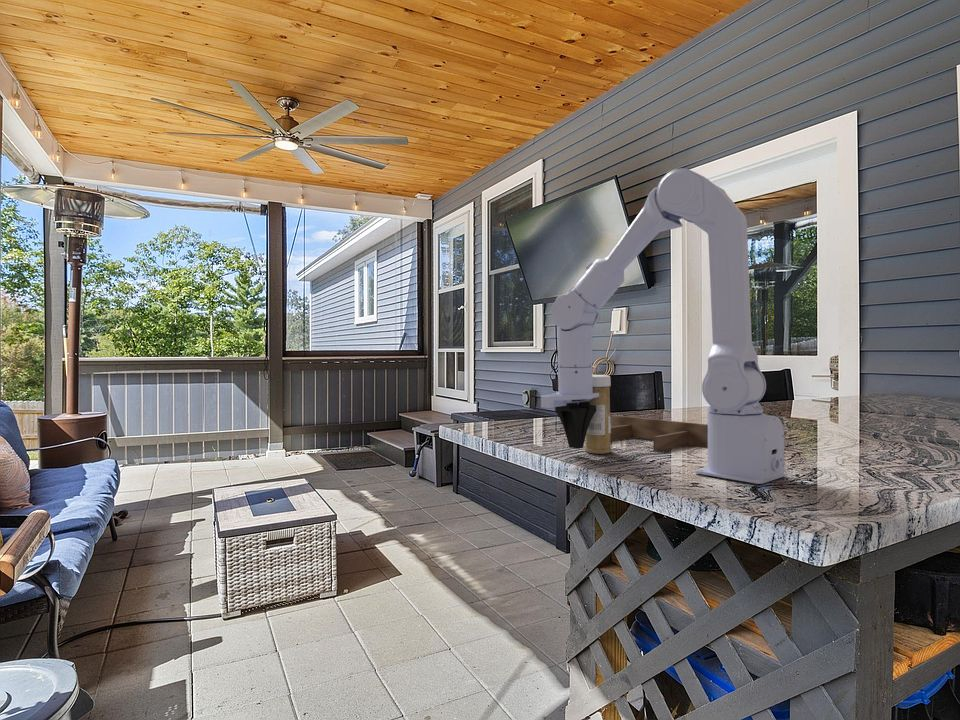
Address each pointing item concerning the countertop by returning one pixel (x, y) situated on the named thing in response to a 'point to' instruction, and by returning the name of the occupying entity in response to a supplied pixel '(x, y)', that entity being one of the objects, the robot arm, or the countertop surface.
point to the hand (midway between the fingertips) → (576, 447)
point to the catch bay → (660, 432)
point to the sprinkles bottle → (600, 417)
